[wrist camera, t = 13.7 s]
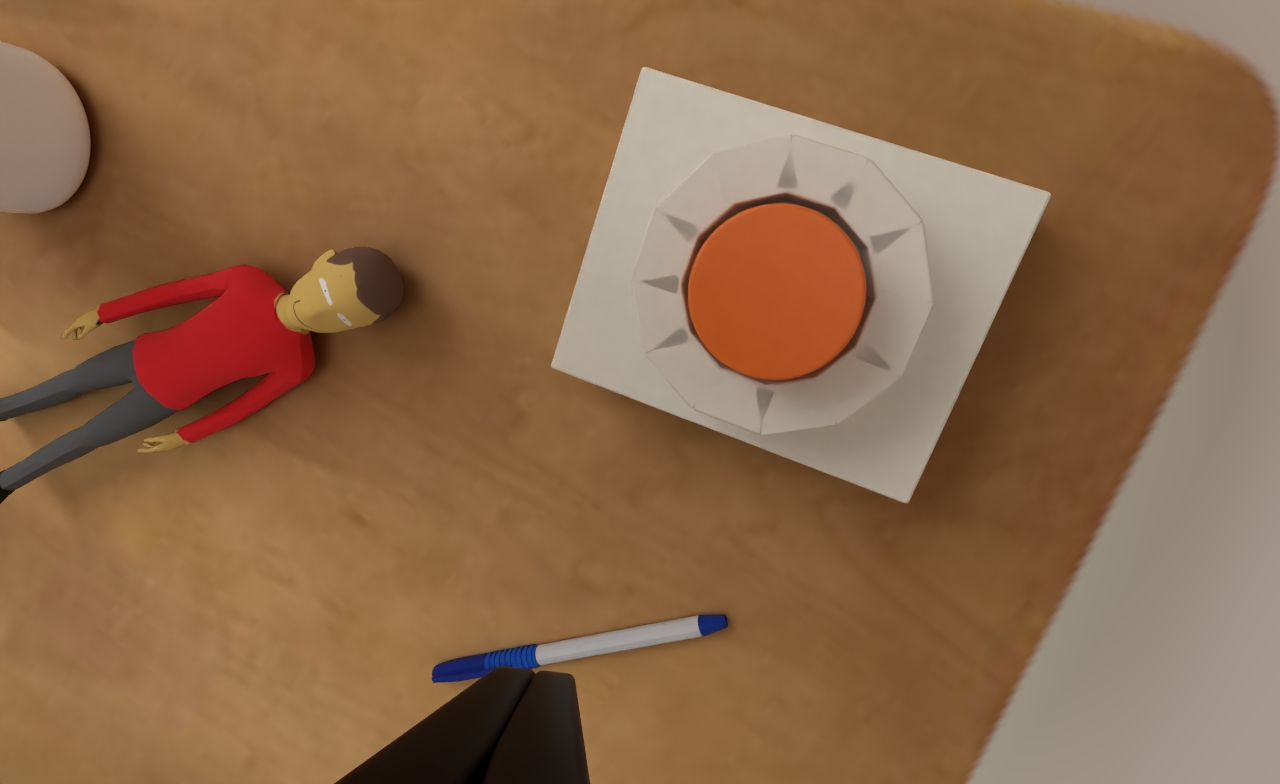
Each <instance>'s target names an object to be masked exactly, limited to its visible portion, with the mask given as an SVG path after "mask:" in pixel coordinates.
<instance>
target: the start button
mask: <svg viewBox="0 0 1280 784" xmlns="http://www.w3.org/2000/svg"><path fill="white" fill-rule="evenodd" d="M866 290H867V288H866V276H865V271H864V267H863V263H862V261H861V258H860V255H859V253H858V251H857V249H856V247H855V245H854V244H853V242H852V241H851V239H850V238H849V237H848V235H847V234H846V233H845V232H844V231H843V230H842V229H841V228H840V227H839V226H838V225H837V224H836V223H835V222H833V221H832V220H831V219H829V218H828V217H826V216H824V215H823V214H821V213H819V212H817V211H815V210H812V209H810V208H807V207H803V206H799V205H795V204H786V203H772V204H765V205H759V206H756V207H752V208H749V209H747V210H744V211H742V212H740V213H737V214H736V215H734V216H732V217H731V218H729V219H727V220H726V221H725V222H724V223H722V224H721V225H720V226H719V227H717V228H716V229H715V231H714V232H713V233H712V234H711V235H710V236H709V237H708V238H707V240H706V241H705V242H704V244H703V245H702V247H701V249H700V250H699V252H698V254H697V256H696V258H695V261H694V263H693V266H692V269H691V273H690V277H689V284H688V304H689V311H690V315H691V319H692V322H693V325H694V327H695V330H696V332H697V334H698V336H699V337H700V339H701V341H702V342H703V344H704V345H705V346H706V348H707V349H708V350H709V351H710V352H711V353H712V354H713V355H714V356H715V357H716V358H717V359H718V360H719V361H720V362H722V363H723V364H724V365H726V366H728V367H729V368H731V369H732V370H734V371H736V372H739V373H741V374H743V375H746V376H750V377H753V378H758V379H764V380H785V379H792V378H796V377H801V376H803V375H806V374H809V373H811V372H813V371H815V370H817V369H819V368H821V367H823V366H824V365H826V364H827V363H829V362H830V361H832V360H833V359H834V358H835V357H836V356H837V355H838V354H839V353H840V352H841V351H842V350H843V349H844V348H845V347H846V346H847V344H848V343H849V342H850V340H851V339H852V337H853V336H854V334H855V332H856V330H857V328H858V326H859V324H860V321H861V318H862V315H863V312H864V307H865V302H866Z"/></svg>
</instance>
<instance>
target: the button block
mask: <svg viewBox="0 0 1280 784" xmlns="http://www.w3.org/2000/svg"><path fill="white" fill-rule="evenodd" d="M1050 197H1051V194H1050V193H1049V192H1047V191H1044V190H1041V189H1038V188H1034V187H1031V186H1028V185H1025V184H1021V183H1018V182H1015V181H1012V180H1009V179H1005V178H1002V177H999V176H996V175H992V174H989V173H986V172H983V171H980V170H976V169H973V168H970V167H967V166H963V165H960V164H957V163H954V162H950V161H947V160H944V159H941V158H938V157H934V156H931V155H928V154H925V153H921V152H918V151H915V150H912V149H909V148H905V147H902V146H899V145H896V144H892V143H889V142H886V141H883V140H880V139H876V138H873V137H870V136H867V135H863V134H860V133H857V132H854V131H851V130H847V129H844V128H841V127H838V126H834V125H831V124H828V123H825V122H822V121H818V120H815V119H812V118H809V117H805V116H802V115H799V114H796V113H793V112H789V111H786V110H783V109H780V108H776V107H773V106H770V105H767V104H763V103H760V102H757V101H754V100H751V99H747V98H744V97H741V96H738V95H734V94H731V93H728V92H725V91H722V90H718V89H715V88H712V87H709V86H705V85H702V84H699V83H696V82H693V81H689V80H686V79H683V78H680V77H676V76H673V75H670V74H667V73H664V72H660V71H657V70H654V69H651V68H647V67H643V68H642V69H641V72H640V76H639V79H638V82H637V85H636V89H635V92H634V95H633V99H632V102H631V105H630V108H629V112H628V115H627V118H626V121H625V125H624V128H623V131H622V135H621V138H620V141H619V144H618V148H617V151H616V154H615V157H614V161H613V164H612V167H611V171H610V174H609V177H608V180H607V184H606V187H605V190H604V193H603V197H602V200H601V203H600V207H599V210H598V213H597V216H596V220H595V223H594V226H593V229H592V233H591V236H590V239H589V243H588V246H587V249H586V252H585V256H584V259H583V262H582V266H581V269H580V272H579V275H578V279H577V282H576V285H575V288H574V292H573V295H572V298H571V302H570V305H569V308H568V311H567V315H566V318H565V321H564V324H563V328H562V331H561V334H560V338H559V341H558V344H557V347H556V351H555V354H554V357H553V360H552V364H551V367H552V368H553V369H555V370H558V371H561V372H563V373H566V374H568V375H571V376H574V377H576V378H579V379H581V380H584V381H587V382H589V383H592V384H594V385H597V386H600V387H602V388H605V389H608V390H610V391H613V392H615V393H618V394H621V395H623V396H626V397H628V398H631V399H634V400H636V401H639V402H642V403H644V404H647V405H649V406H652V407H655V408H657V409H660V410H662V411H665V412H668V413H670V414H673V415H675V416H678V417H681V418H683V419H686V420H689V421H691V422H694V423H696V424H699V425H702V426H704V427H707V428H709V429H712V430H715V431H717V432H720V433H722V434H725V435H728V436H730V437H733V438H736V439H738V440H741V441H743V442H746V443H749V444H751V445H754V446H756V447H759V448H762V449H764V450H767V451H770V452H772V453H775V454H777V455H780V456H783V457H785V458H788V459H790V460H793V461H796V462H798V463H801V464H803V465H806V466H809V467H811V468H814V469H817V470H819V471H822V472H824V473H827V474H830V475H832V476H835V477H837V478H840V479H843V480H845V481H848V482H850V483H853V484H856V485H858V486H861V487H864V488H866V489H869V490H871V491H874V492H877V493H879V494H882V495H884V496H887V497H890V498H892V499H895V500H898V501H900V502H903V503H908V502H909V501H910V499H911V497H912V495H913V493H914V490H915V488H916V486H917V484H918V482H919V480H920V477H921V475H922V473H923V471H924V469H925V467H926V464H927V462H928V460H929V458H930V456H931V454H932V452H933V449H934V447H935V445H936V443H937V441H938V439H939V436H940V434H941V432H942V430H943V428H944V426H945V424H946V421H947V419H948V417H949V415H950V413H951V411H952V408H953V406H954V404H955V402H956V400H957V398H958V396H959V393H960V391H961V389H962V387H963V385H964V383H965V380H966V378H967V376H968V374H969V372H970V370H971V367H972V365H973V363H974V361H975V359H976V357H977V355H978V352H979V350H980V348H981V346H982V344H983V342H984V339H985V337H986V335H987V333H988V331H989V329H990V327H991V324H992V322H993V320H994V318H995V316H996V314H997V311H998V309H999V307H1000V305H1001V303H1002V301H1003V298H1004V296H1005V294H1006V292H1007V290H1008V288H1009V286H1010V283H1011V281H1012V279H1013V277H1014V275H1015V273H1016V270H1017V268H1018V266H1019V264H1020V262H1021V260H1022V258H1023V255H1024V253H1025V251H1026V249H1027V247H1028V245H1029V242H1030V240H1031V238H1032V236H1033V234H1034V232H1035V230H1036V227H1037V225H1038V223H1039V221H1040V219H1041V217H1042V214H1043V212H1044V210H1045V208H1046V206H1047V204H1048V201H1049V199H1050ZM772 203H786V204H795V205H799V206H803V207H807V208H810V209H812V210H815V211H817V212H819V213H821V214H823V215H824V216H826V217H828V218H829V219H831V220H832V221H833V222H835V223H836V224H837V225H838V226H839V227H840V228H841V229H842V230H843V231H844V232H845V233H846V234H847V235H848V237H849V238H850V239H851V241H852V242H853V244H854V245H855V247H856V249H857V251H858V253H859V255H860V258H861V261H862V263H863V267H864V271H865V276H866V288H867V290H866V302H865V307H864V312H863V315H862V318H861V321H860V324H859V326H858V328H857V330H856V332H855V334H854V336H853V337H852V339H851V340H850V342H849V343H848V344H847V346H846V347H845V348H844V349H843V350H842V351H841V352H840V353H839V354H838V355H837V356H836V357H835V358H834V359H833V360H832V361H830V362H829V363H827V364H826V365H824V366H823V367H821V368H819V369H817V370H815V371H813V372H811V373H809V374H806V375H803V376H801V377H796V378H792V379H785V380H764V379H758V378H753V377H750V376H746V375H743V374H741V373H739V372H736V371H734V370H732V369H731V368H729V367H728V366H726V365H724V364H723V363H722V362H720V361H719V360H718V359H717V358H716V357H715V356H714V355H713V354H712V353H711V352H710V351H709V350H708V349H707V348H706V346H705V345H704V344H703V342H702V341H701V339H700V337H699V336H698V334H697V332H696V330H695V327H694V325H693V322H692V319H691V315H690V311H689V304H688V284H689V277H690V273H691V269H692V266H693V263H694V261H695V258H696V256H697V254H698V252H699V250H700V249H701V247H702V245H703V244H704V242H705V241H706V240H707V238H708V237H709V236H710V235H711V234H712V233H713V232H714V231H715V229H716V228H717V227H719V226H720V225H721V224H722V223H724V222H725V221H726V220H727V219H729V218H731V217H732V216H734V215H736V214H737V213H740V212H742V211H744V210H747V209H749V208H752V207H756V206H759V205H765V204H772Z"/></svg>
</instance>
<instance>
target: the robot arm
mask: <svg viewBox="0 0 1280 784" xmlns="http://www.w3.org/2000/svg"><path fill="white" fill-rule="evenodd" d="M334 784H590V780H589V773H588V767H587V760H586V753H585V746H584V739H583V732H582V726H581V719H580V712H579V705H578V698H577V691H576V685H575V679H574V677H573V676H572V675H571V674H568V673H559V672H551V671H539V672H537V673H536V674H535V673H534V671H533V670H531V669H526V668H517V667H509V666H499V667H497V668H495V669H493V670H492V671H490V672H489V673H488V674H486V675H485V676H483V677H482V678H481V679H479V680H478V681H476V682H475V683H474V684H472V685H471V686H469V687H468V688H467V689H465V690H464V691H462V692H461V693H460V694H458V695H457V696H456V697H454V698H453V699H451V700H450V701H449V702H447V703H446V704H444V705H443V706H442V707H440V708H439V709H437V710H436V711H435V712H433V713H432V714H430V715H429V716H428V717H426V718H425V719H423V720H422V721H421V722H419V723H418V724H417V725H415V726H414V727H412V728H411V729H410V730H408V731H407V732H405V733H404V734H403V735H401V736H400V737H398V738H397V739H396V740H394V741H393V742H391V743H390V744H389V745H387V746H386V747H384V748H383V749H382V750H380V751H379V752H378V753H376V754H375V755H373V756H372V757H371V758H369V759H368V760H366V761H365V762H364V763H362V764H361V765H359V766H358V767H357V768H355V769H354V770H352V771H351V772H350V773H348V774H347V775H345V776H344V777H343V778H341V779H340V780H338V781H337V782H336V783H334Z"/></svg>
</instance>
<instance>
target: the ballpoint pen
mask: <svg viewBox="0 0 1280 784" xmlns="http://www.w3.org/2000/svg"><path fill="white" fill-rule="evenodd" d="M727 627H728V622H727V618H726V616H725V615H697V616H692V617H686V618H681V619H676V620H670V621H665V622H660V623H654V624H649V625H643V626H638V627H633V628H627V629H622V630H617V631H611V632H606V633H601V634H595V635H590V636H585V637H579V638H574V639H569V640H563V641H558V642H552V643H547V644H542V645H536V644H532V645H531V646H530V645H527V646H526V647H525V646H522V647H516V648H511V649H510V650H509V649H506V650H505V651H504V650H501V651H495V652H490V653H485V654H480V655H474V656H469V657H464V658H458V659H455V660H451V661H448V662H445V663H441V664H439V665H436V666H435V667H434V669H433V671H432V681H433V683H436V682H454V681H463V680H469V679H474V678H480V677H483V676H485V675H486V674H488V673H489V672H490V671H492V670H493V669H495V668H497V667H499V666H509V667H517V668H526V669H532V668H538V667H539V666H541V665H545V664H550V663H556V662H562V661H567V660H573V659H578V658H584V657H590V656H595V655H601V654H606V653H612V652H618V651H623V650H629V649H634V648H640V647H646V646H651V645H657V644H662V643H668V642H674V641H679V640H685V639H691V638H696V637H702V636H705V635H708V634H711V633H713V632H716V631H719V630H721V629H724V628H727Z"/></svg>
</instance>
